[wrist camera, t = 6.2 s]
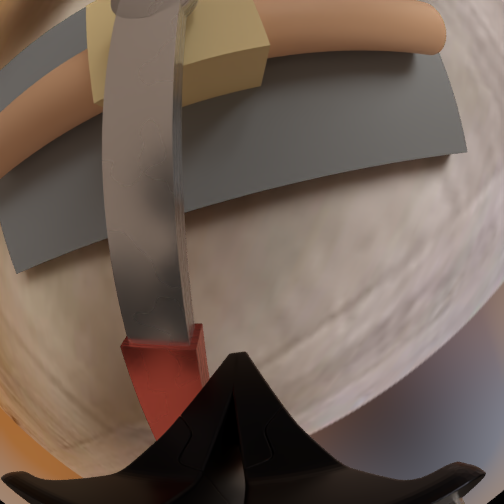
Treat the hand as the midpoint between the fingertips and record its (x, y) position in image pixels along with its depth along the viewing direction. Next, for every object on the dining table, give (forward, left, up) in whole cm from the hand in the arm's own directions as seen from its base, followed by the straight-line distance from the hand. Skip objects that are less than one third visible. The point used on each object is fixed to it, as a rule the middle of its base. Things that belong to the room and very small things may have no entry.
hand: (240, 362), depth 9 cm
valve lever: (+1, -5, 0) cm, 5 cm away
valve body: (-1, -12, -6) cm, 13 cm away
